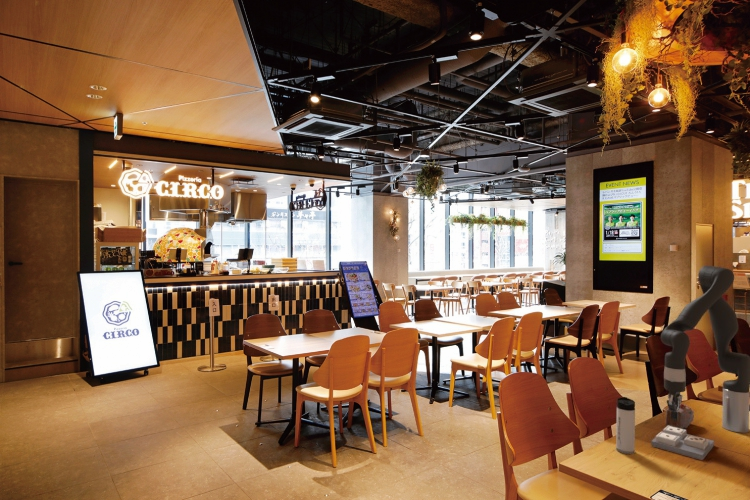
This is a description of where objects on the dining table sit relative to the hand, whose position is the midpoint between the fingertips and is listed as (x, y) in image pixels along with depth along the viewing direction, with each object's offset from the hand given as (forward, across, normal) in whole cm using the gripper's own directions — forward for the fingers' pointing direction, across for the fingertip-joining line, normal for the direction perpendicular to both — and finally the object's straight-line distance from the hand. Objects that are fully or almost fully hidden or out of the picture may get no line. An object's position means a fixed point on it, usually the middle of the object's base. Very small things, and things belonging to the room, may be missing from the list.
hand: (674, 420), depth 193 cm
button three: (+6, +5, +9) cm, 12 cm away
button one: (+6, +11, 0) cm, 12 cm away
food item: (+8, -19, -3) cm, 21 cm away
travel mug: (+8, +28, -10) cm, 30 cm away
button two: (+6, +1, 0) cm, 6 cm away
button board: (+8, +6, +4) cm, 10 cm away
